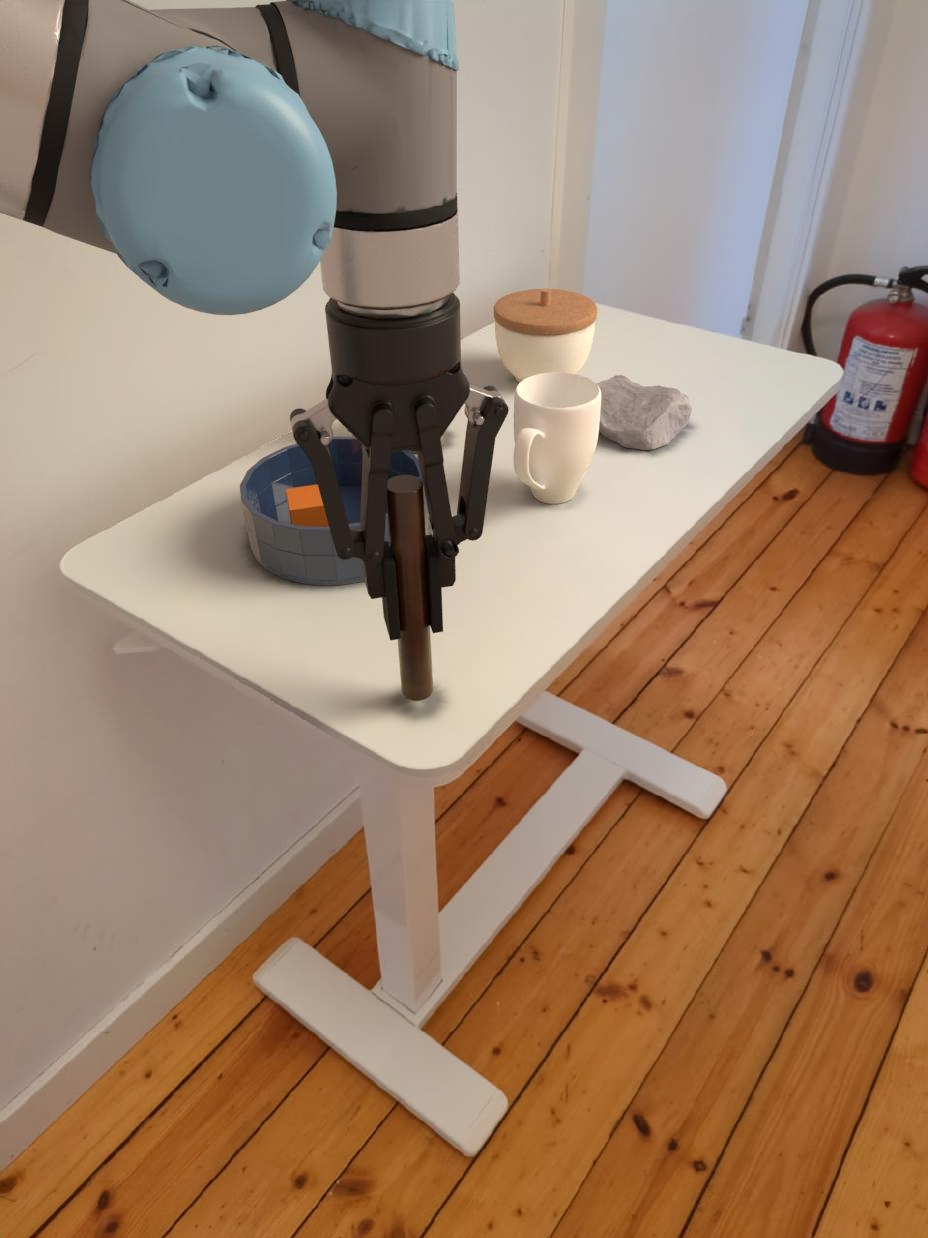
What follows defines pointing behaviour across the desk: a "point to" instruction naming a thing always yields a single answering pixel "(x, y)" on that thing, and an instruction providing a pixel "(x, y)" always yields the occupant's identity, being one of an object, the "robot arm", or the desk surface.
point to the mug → (555, 433)
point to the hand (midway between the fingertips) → (413, 623)
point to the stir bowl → (308, 547)
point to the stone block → (641, 413)
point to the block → (306, 506)
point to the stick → (411, 584)
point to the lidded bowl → (544, 331)
